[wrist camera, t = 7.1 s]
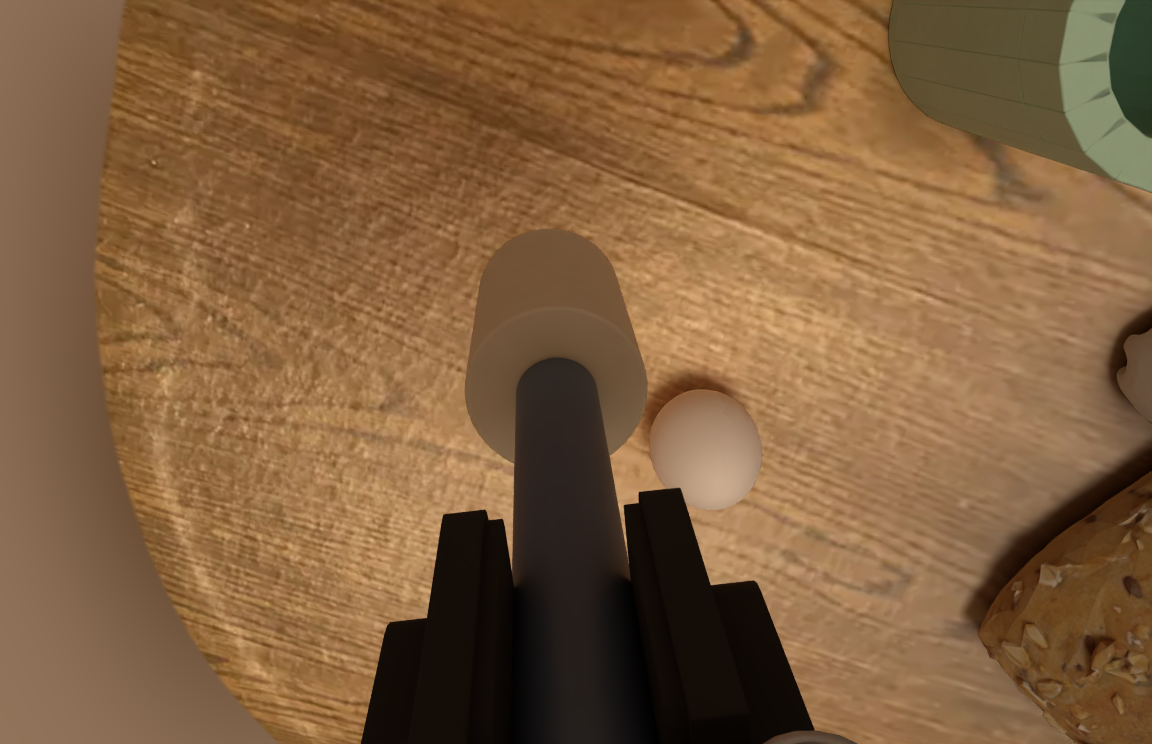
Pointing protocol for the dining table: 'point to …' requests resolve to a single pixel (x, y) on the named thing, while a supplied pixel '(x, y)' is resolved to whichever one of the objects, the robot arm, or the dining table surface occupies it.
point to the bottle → (1138, 373)
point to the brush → (564, 483)
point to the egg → (706, 448)
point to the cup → (1036, 76)
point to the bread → (1085, 624)
